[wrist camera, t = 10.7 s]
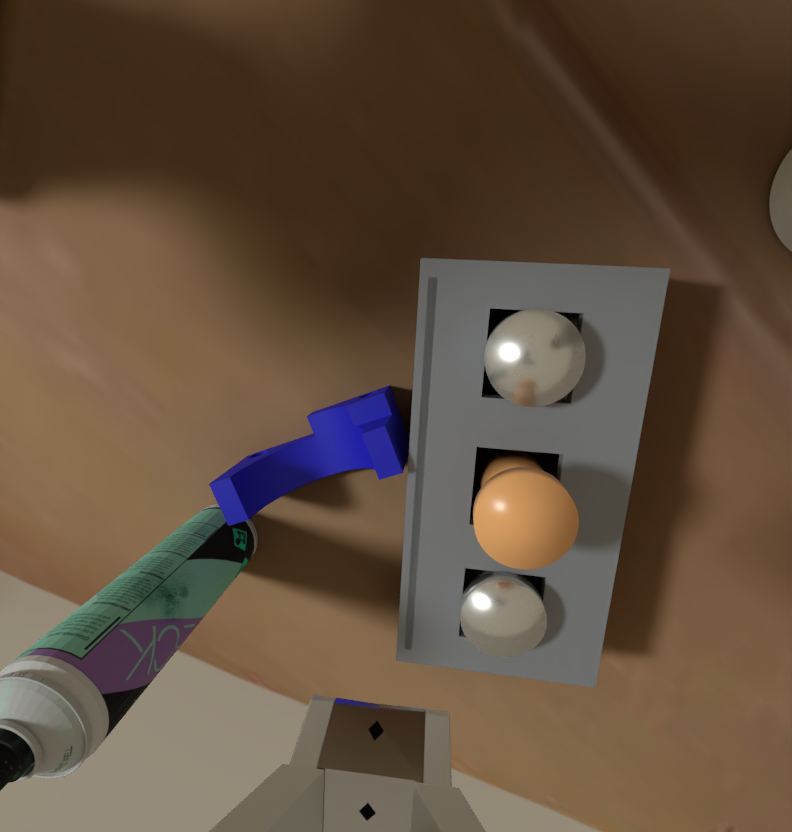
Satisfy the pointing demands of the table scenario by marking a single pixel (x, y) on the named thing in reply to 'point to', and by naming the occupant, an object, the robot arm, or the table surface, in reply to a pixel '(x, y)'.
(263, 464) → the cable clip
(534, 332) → the near knob
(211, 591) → the spray can
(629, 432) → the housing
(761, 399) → the table surface
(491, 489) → the orange knob
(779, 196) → the travel mug
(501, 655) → the far knob
